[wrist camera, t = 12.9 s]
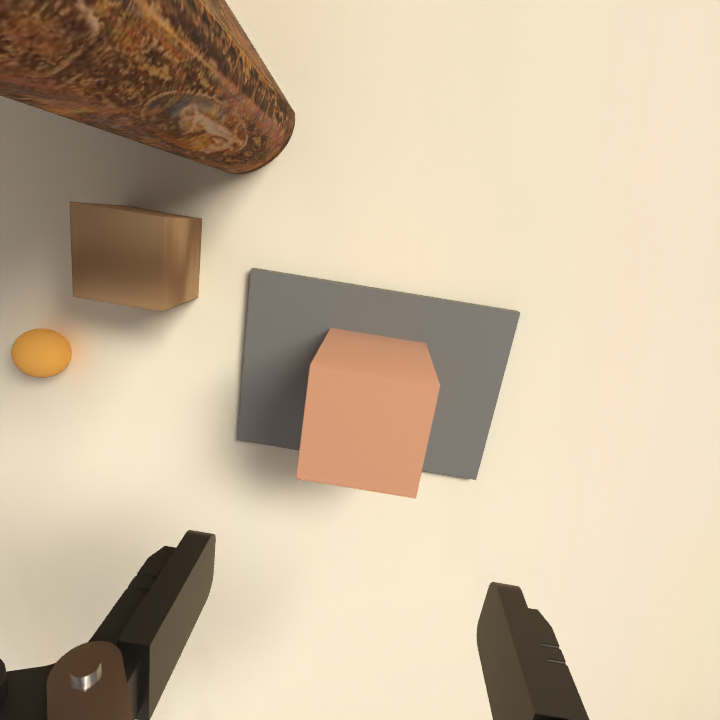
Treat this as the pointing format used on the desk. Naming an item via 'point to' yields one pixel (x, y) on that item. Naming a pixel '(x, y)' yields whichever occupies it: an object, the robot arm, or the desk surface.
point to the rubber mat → (378, 317)
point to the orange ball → (41, 353)
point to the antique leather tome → (148, 75)
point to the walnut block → (134, 255)
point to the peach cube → (368, 413)
